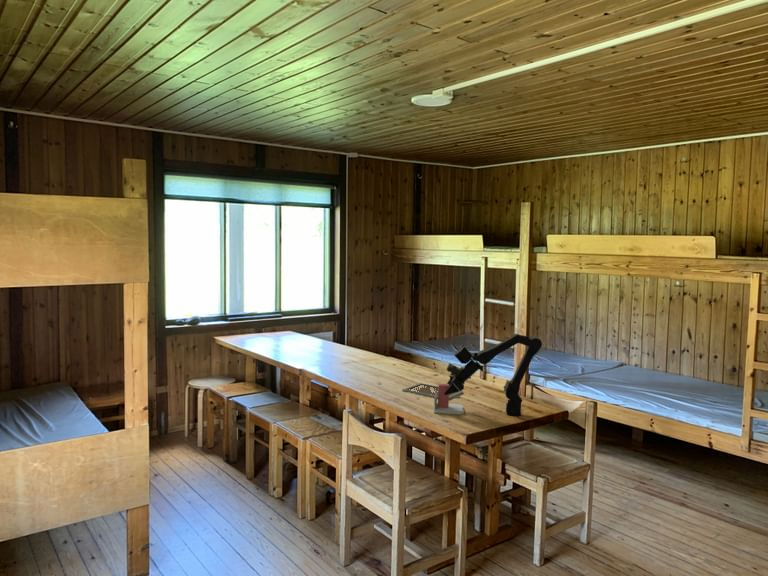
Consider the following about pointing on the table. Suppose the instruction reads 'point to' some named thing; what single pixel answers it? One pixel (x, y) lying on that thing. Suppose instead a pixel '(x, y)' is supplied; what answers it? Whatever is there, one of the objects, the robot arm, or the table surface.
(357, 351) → the table surface
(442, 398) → the tall pink rectangular prism
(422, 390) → the gray perforated panel
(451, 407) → the shelf
